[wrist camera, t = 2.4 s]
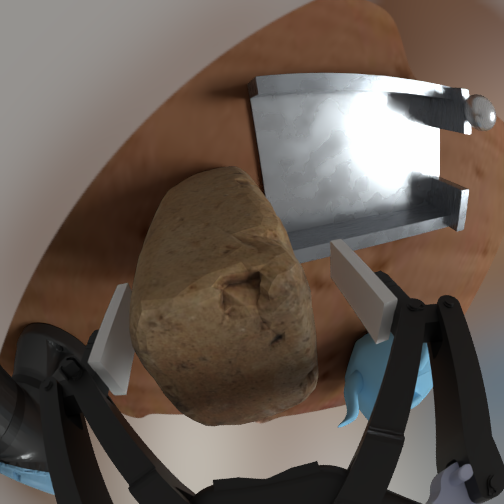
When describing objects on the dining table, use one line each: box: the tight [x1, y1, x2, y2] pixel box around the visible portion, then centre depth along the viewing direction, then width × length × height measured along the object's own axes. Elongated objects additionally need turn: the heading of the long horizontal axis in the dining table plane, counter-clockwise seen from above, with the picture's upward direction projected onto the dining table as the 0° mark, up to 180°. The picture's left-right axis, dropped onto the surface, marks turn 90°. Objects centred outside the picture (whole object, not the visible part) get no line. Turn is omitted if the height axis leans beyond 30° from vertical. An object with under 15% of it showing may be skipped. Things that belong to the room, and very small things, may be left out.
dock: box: [247, 73, 496, 263], centre depth 22 cm, size 25×17×10 cm
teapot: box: [338, 332, 433, 427], centre depth 36 cm, size 18×16×14 cm
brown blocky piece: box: [129, 166, 318, 426], centre depth 18 cm, size 11×8×20 cm
